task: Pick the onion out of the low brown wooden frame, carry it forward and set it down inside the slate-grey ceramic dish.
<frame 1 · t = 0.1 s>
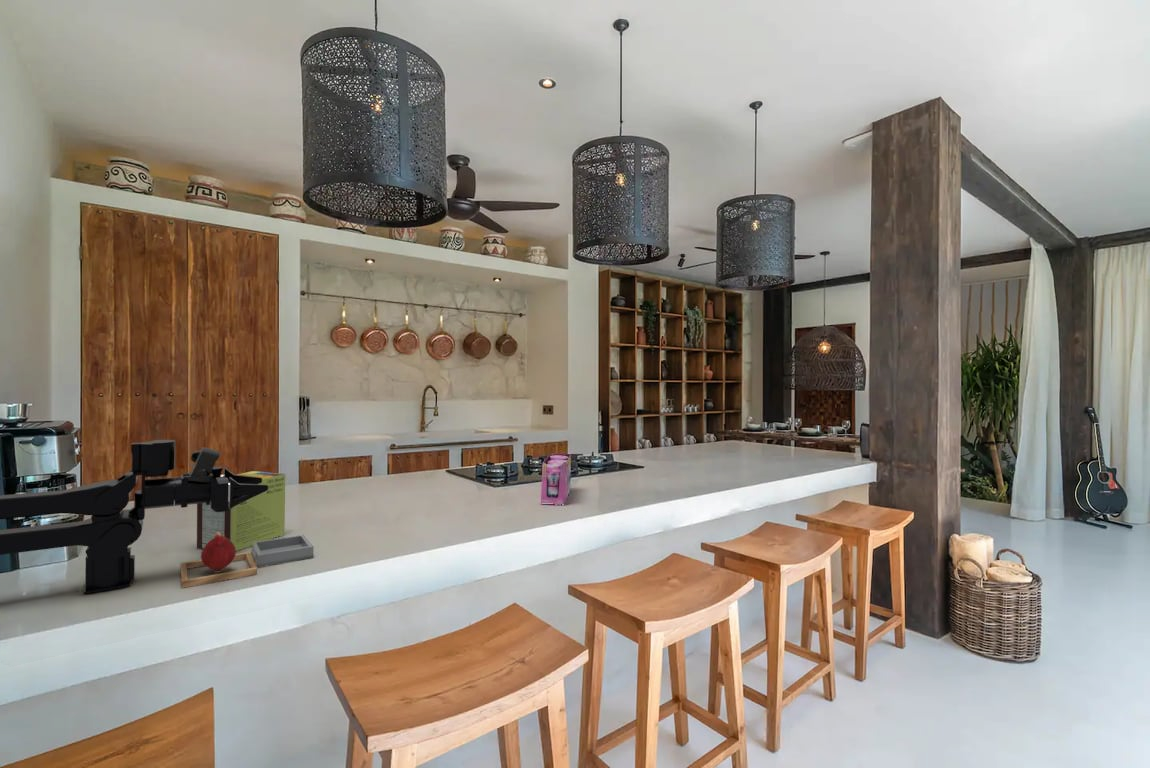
hand: (264, 483, 115), 17 cm above the counter, tool horizontal, fingers open, 9 cm apart
dish: (282, 555, 117), on the counter
gum box: (556, 498, 180), on the counter
onion: (218, 572, 107), resting in brown wooden frame
protein box: (242, 542, 127), on the counter
brown wooden frame: (218, 571, 107), on the counter
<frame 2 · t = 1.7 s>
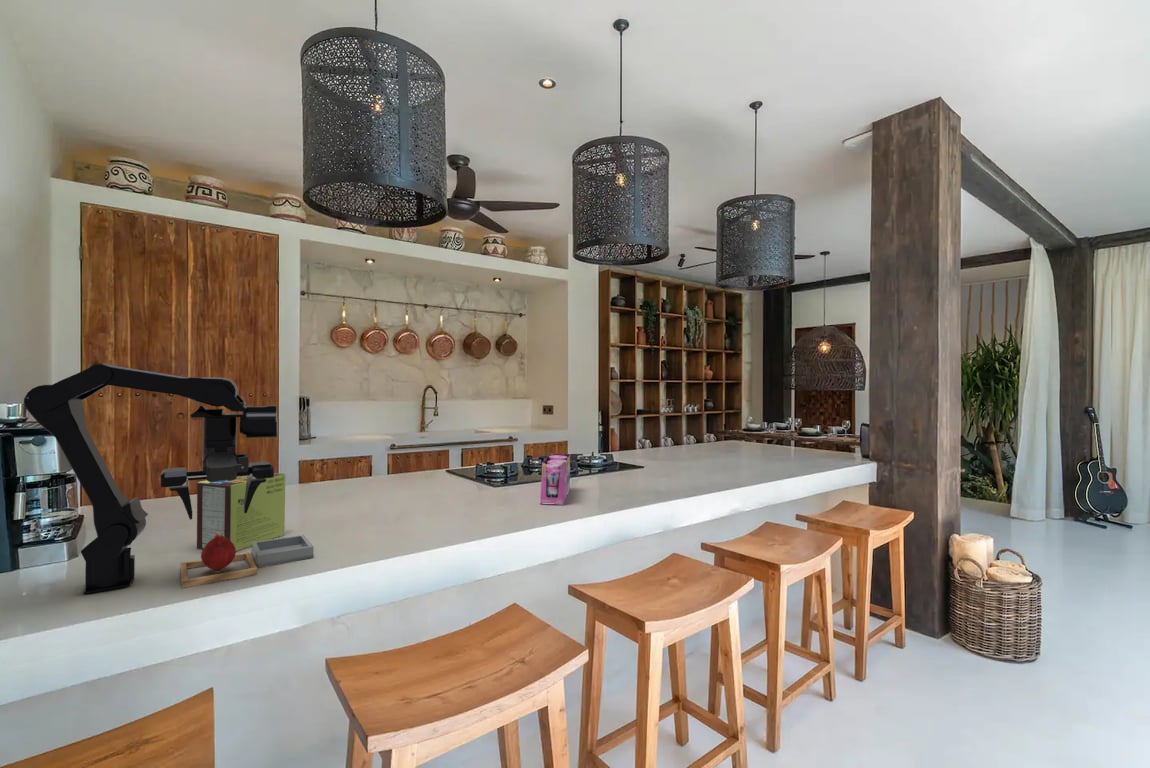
hand: (218, 515, 107), 11 cm above the counter, tool pointing down, fingers open, 9 cm apart
nothing on the counter moved.
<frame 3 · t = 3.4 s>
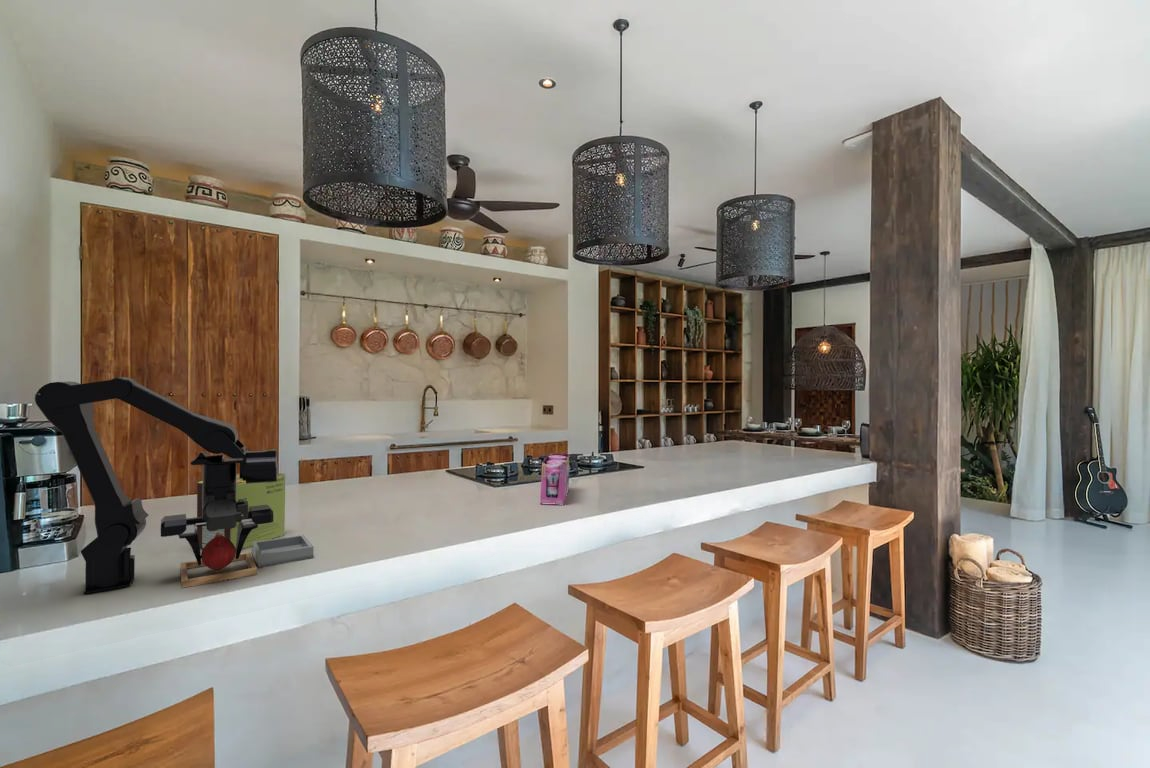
hand: (218, 561, 107), 2 cm above the counter, tool pointing down, fingers closed on onion, 6 cm apart
onion: (218, 572, 107), resting in brown wooden frame, touching gripper
everything else where it was.
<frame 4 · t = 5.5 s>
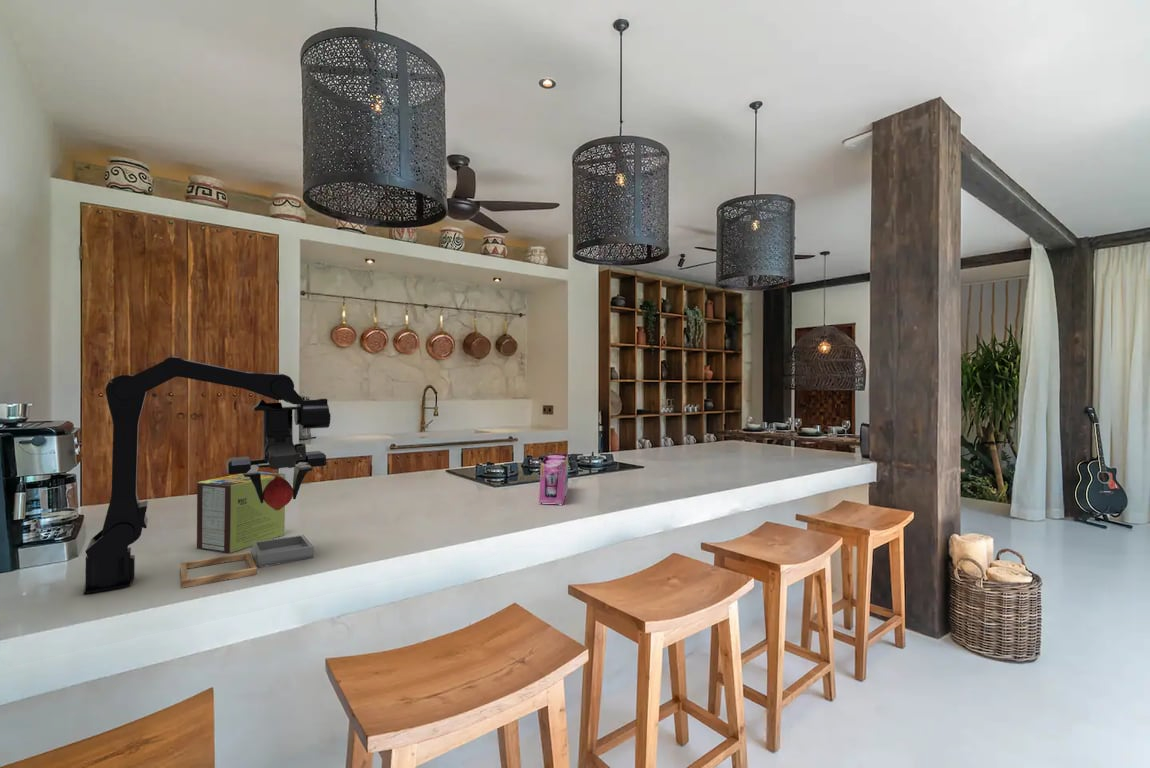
hand: (278, 500, 116), 12 cm above the counter, tool pointing down, fingers closed on onion, 6 cm apart
onion: (278, 511, 116), point 10 cm above the counter, touching gripper
everything else where it was.
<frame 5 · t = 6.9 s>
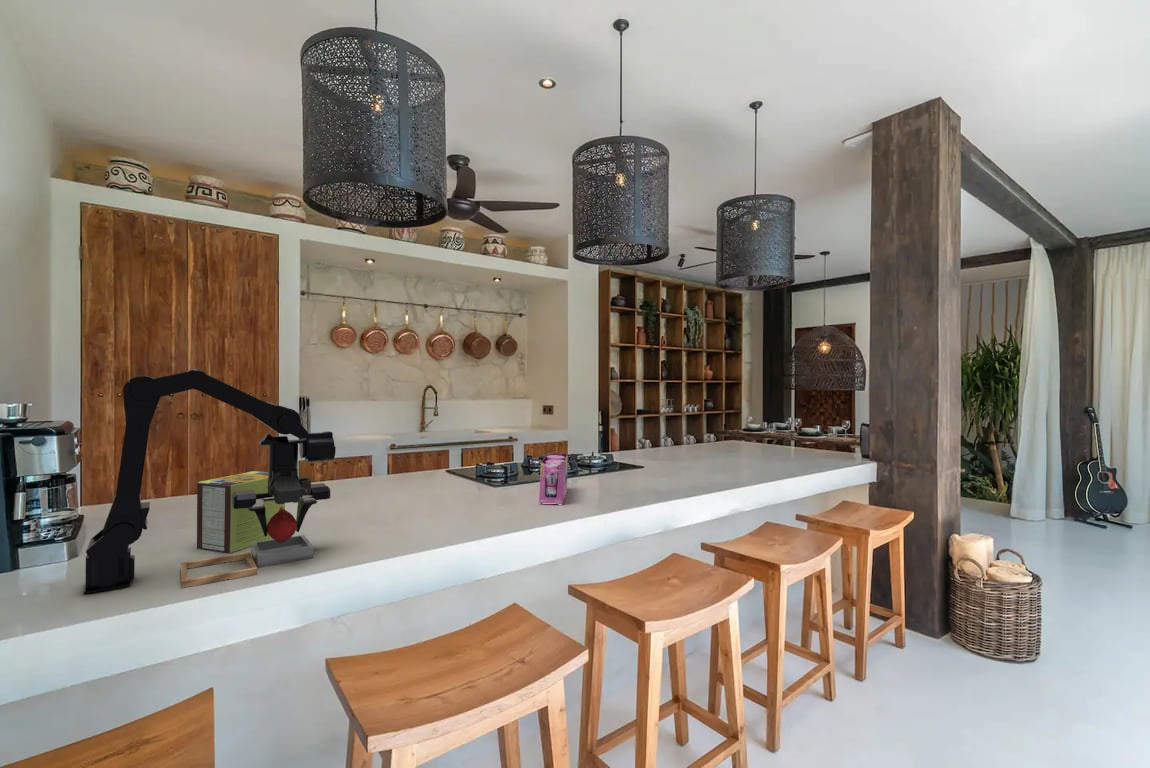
hand: (281, 533, 117), 5 cm above the counter, tool pointing down, fingers closed on onion, 6 cm apart
onion: (281, 543, 117), point 3 cm above the counter, touching gripper
everything else where it was.
when the fingers open (4 cm above the counter, at t = 7.9 s): onion drops 1 cm, resting on dish.
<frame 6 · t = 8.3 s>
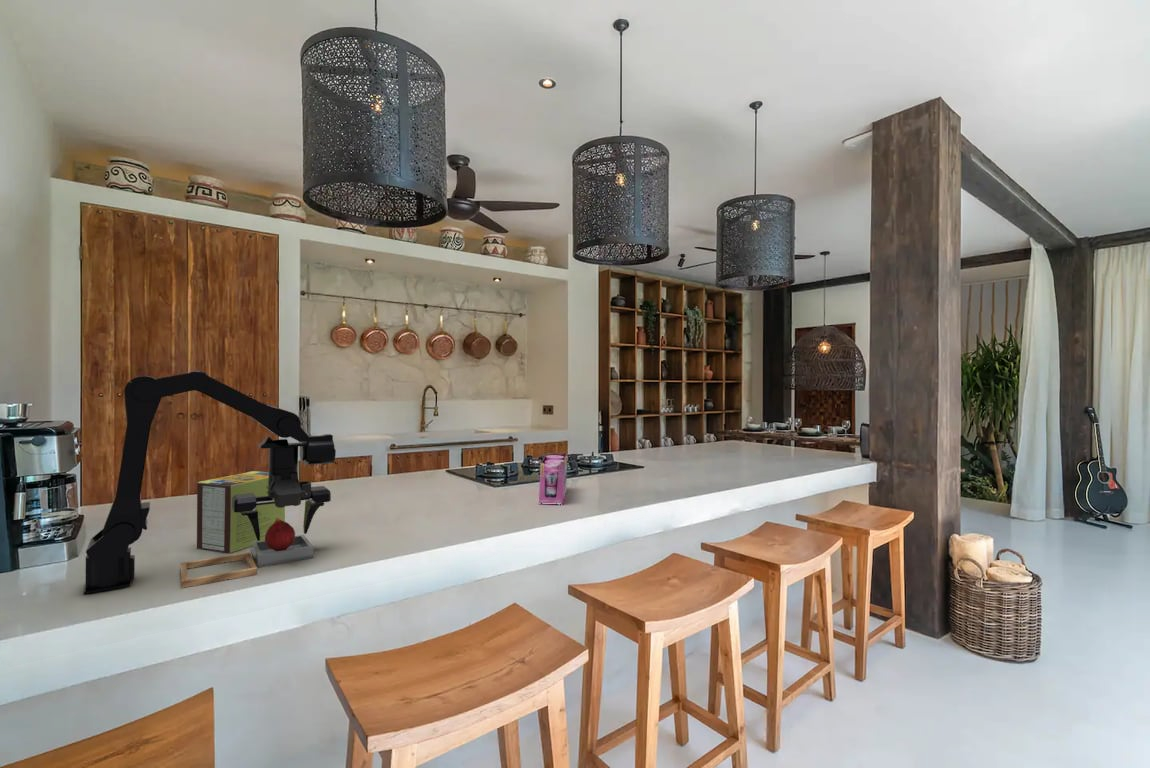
hand: (282, 536, 117), 4 cm above the counter, tool pointing down, fingers open, 9 cm apart
onion: (282, 553, 117), point 1 cm above the counter, touching dish
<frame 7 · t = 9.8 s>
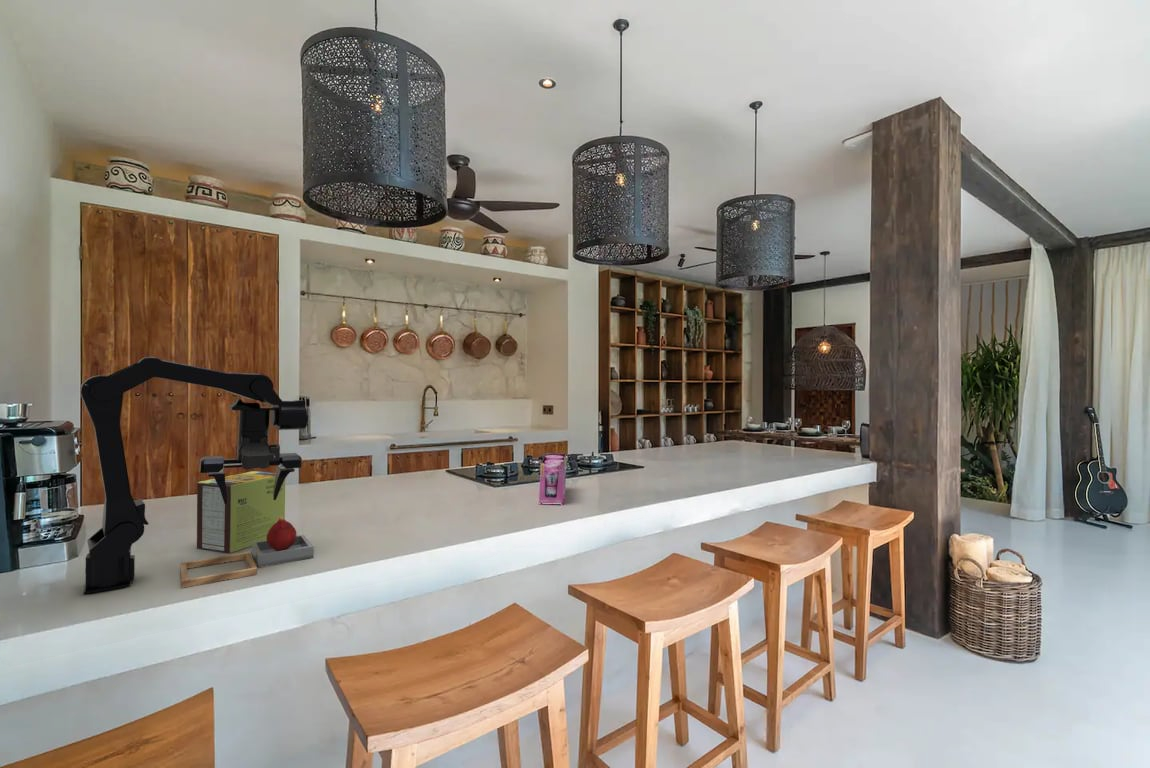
hand: (250, 501, 115), 12 cm above the counter, tool pointing down, fingers open, 9 cm apart
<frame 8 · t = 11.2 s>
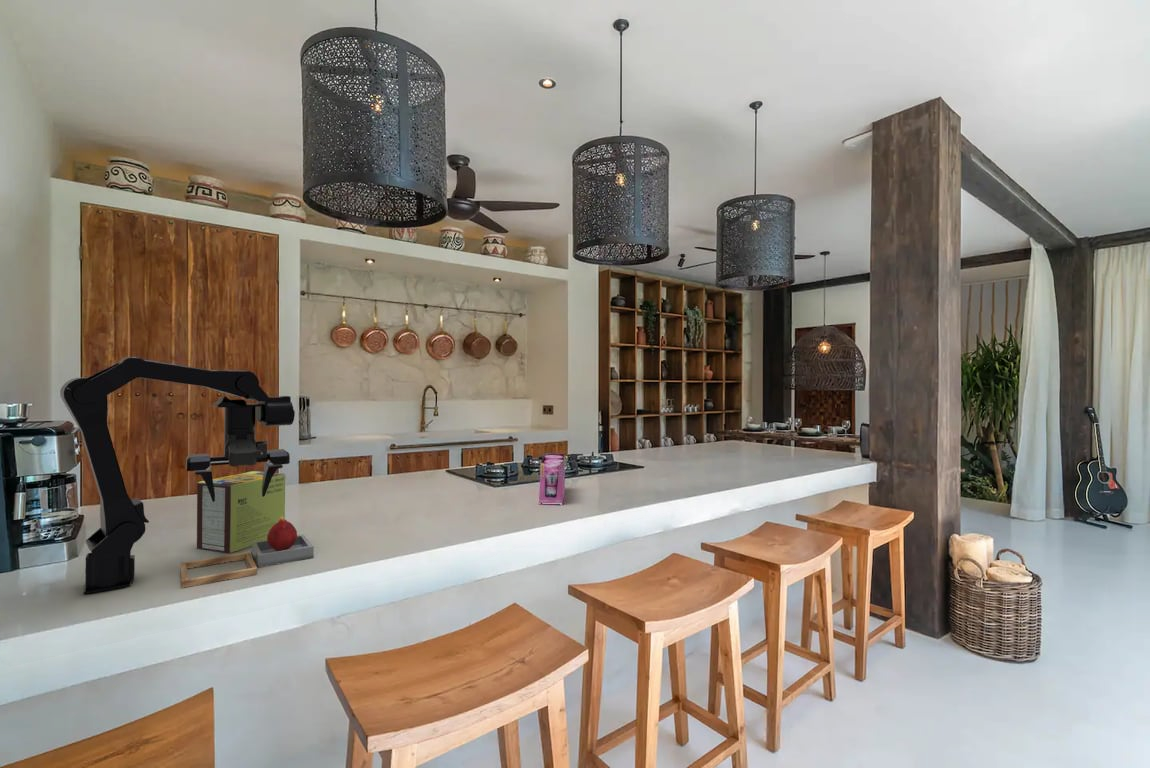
hand: (239, 498, 115), 13 cm above the counter, tool pointing down, fingers open, 9 cm apart
at the end: onion inside the target area on the dish (0.1 cm from its centre), point 0.4 cm above the dish's base; the gripper is holding nothing; onion touching dish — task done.
